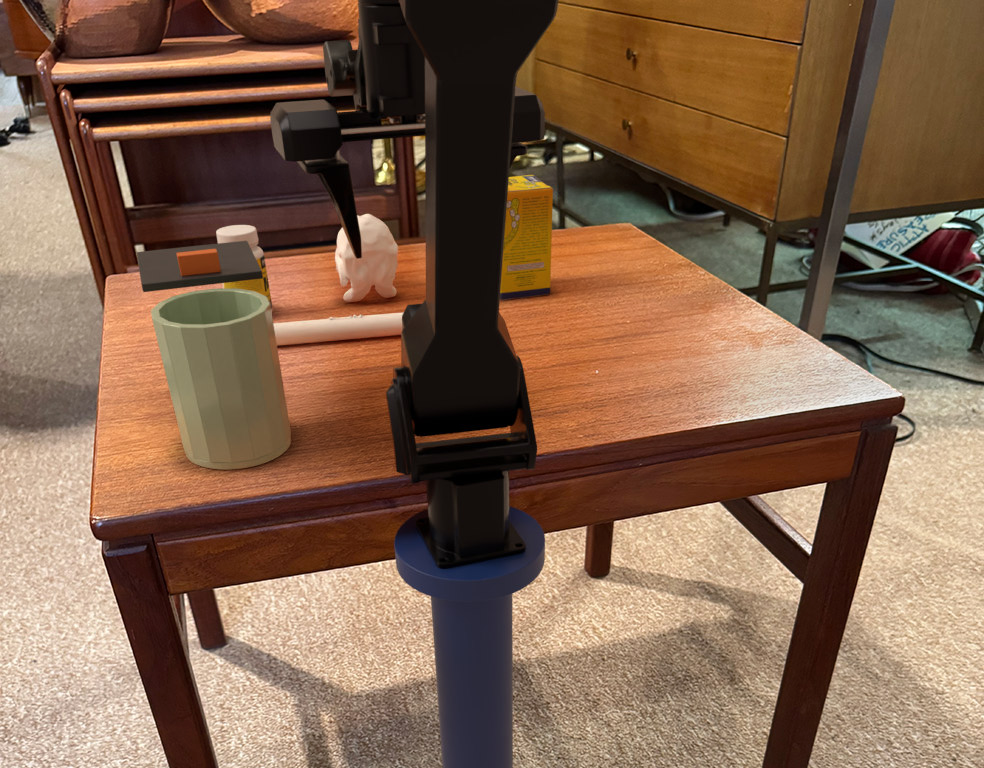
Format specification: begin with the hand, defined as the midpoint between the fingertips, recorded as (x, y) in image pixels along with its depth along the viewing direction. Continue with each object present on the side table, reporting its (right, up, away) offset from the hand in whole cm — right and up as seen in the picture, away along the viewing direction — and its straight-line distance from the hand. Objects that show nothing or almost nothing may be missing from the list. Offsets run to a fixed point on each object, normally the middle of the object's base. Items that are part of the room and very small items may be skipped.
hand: (416, 250), depth 71 cm
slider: (-18, 0, +3) cm, 18 cm away
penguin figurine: (-9, +10, +33) cm, 36 cm away
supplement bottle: (-20, +5, +28) cm, 35 cm away
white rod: (-8, 0, +22) cm, 23 cm away
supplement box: (+9, +10, +33) cm, 35 cm away
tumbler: (-15, -14, +4) cm, 21 cm away
